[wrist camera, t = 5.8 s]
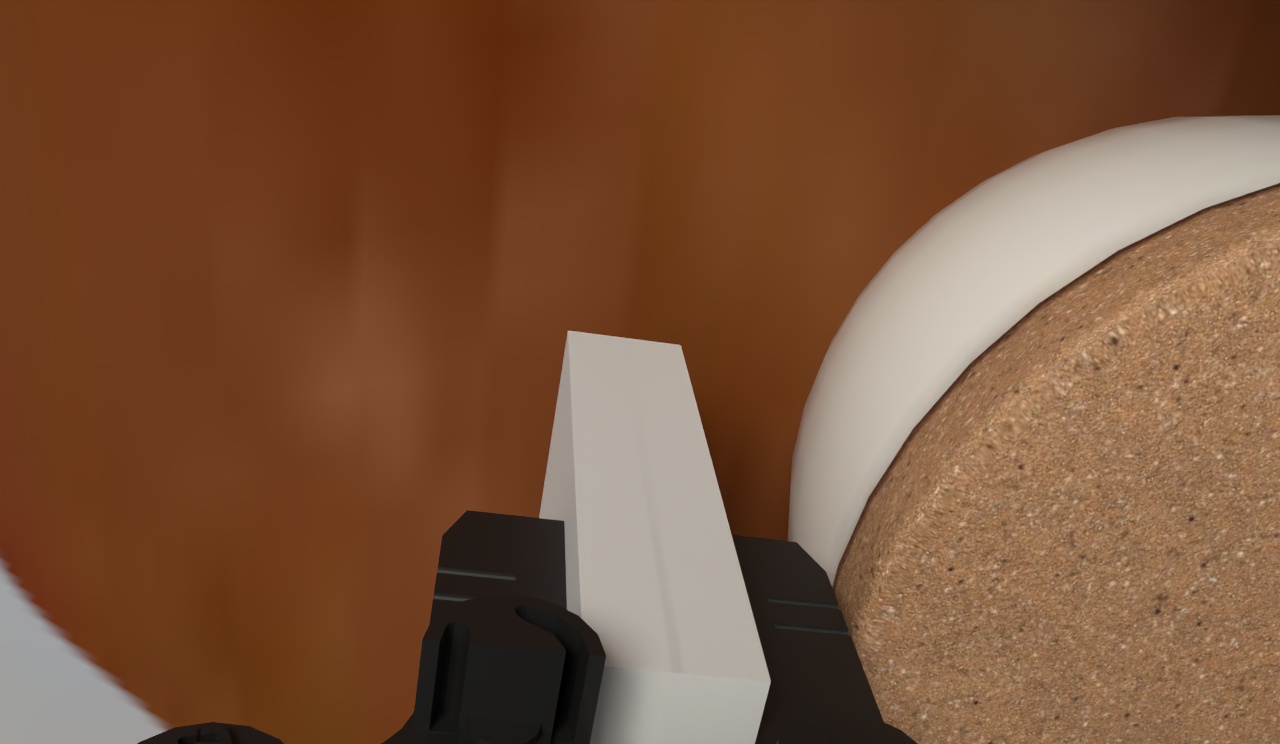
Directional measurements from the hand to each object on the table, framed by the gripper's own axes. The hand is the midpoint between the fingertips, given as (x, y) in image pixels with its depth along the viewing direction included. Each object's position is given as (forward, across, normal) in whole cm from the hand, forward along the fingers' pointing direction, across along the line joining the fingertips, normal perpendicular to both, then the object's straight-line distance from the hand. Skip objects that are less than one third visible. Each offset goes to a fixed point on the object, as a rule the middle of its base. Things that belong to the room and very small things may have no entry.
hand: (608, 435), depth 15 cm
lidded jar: (+4, +7, 0) cm, 8 cm away
